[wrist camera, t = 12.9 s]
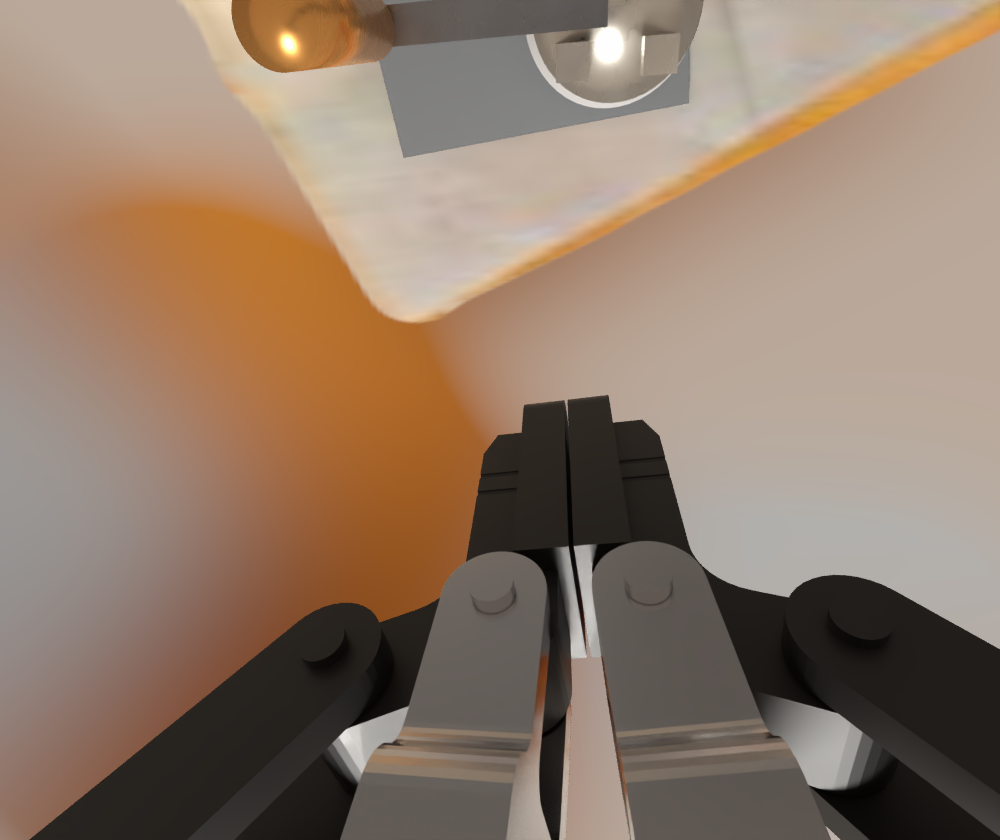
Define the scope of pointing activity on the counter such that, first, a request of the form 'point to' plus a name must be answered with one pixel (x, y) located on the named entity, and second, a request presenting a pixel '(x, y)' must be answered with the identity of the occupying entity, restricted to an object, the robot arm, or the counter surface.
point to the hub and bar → (481, 35)
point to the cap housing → (494, 93)
